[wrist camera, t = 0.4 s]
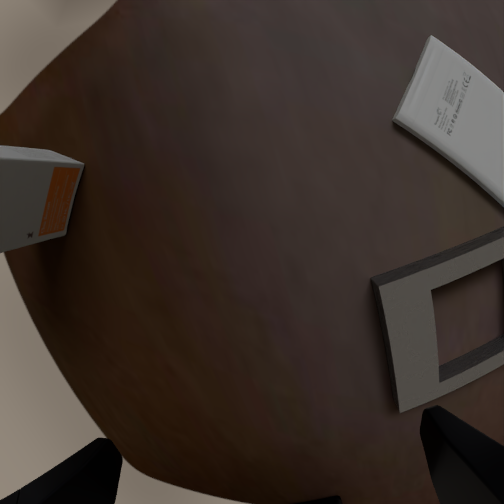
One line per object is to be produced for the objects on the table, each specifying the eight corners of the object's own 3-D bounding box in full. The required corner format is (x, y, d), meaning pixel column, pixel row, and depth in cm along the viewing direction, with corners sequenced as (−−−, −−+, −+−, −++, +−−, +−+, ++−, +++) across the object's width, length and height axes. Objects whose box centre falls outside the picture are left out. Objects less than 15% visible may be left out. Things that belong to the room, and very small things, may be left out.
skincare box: (68, 236, 22) (-52, 274, 10) (34, 218, 22) (-79, 243, 10) (88, 161, 21) (-41, 155, 9) (51, 147, 21) (-69, 140, 9)
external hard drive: (506, 213, 19) (388, 122, 19) (532, 133, 17) (424, 40, 17) (518, 216, 17) (396, 117, 17) (544, 132, 16) (432, 32, 15)
